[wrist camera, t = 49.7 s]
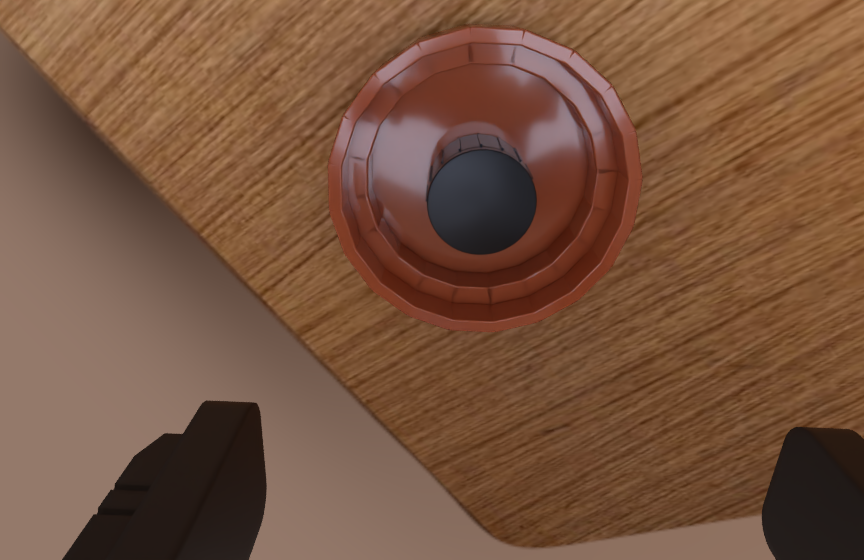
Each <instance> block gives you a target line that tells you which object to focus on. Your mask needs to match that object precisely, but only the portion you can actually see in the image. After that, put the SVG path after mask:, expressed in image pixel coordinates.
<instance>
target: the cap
mask: <svg viewBox="0 0 864 560" xmlns="http://www.w3.org/2000/svg"><path fill="white" fill-rule="evenodd" d="M532 179H533V176H532V174H531V172H530V170H529V168H528V166H527V164H524V162H523V160H522V158H521V156H520V155H519V153H518V151H517V149H516V148H515V147H514V148H513V147H512V146H511V145H510V144H508V143H507V142H505V141H504V140H502V139H500V137H495V136H491V135H485V134H480V133H477V134H473V135H468V136H464V137H461V138H459V137H458V138H457V140H455V141H453V142H451V143H450V144H449V145H447V146H446V147H445V148H444V149H441V152H440V153H439V154H438V156H437V157H436V159H435V161H434V163H433V165H432V166H430V173H429V182H428V185H427V189H426V202H427V211H428V216H429V220H430V222H431V225H432V227H433V229H434V230H435V232H436V233H437V234H438V236H439V237H440V238H441V239H442V240H443V241H444V242H445V243H447V244H448V245H449V246H451V247H453V248H454V249H456V250H459V251H461V252H464V253H468V254H474V255H487V254H493V253H497V252H500V251H502V250H505V249H507V248H508V247H510V246H512V245H513V244H515V243H516V242H517V241H518V240H519V239H521V238H522V237H523V235H524V234H525V233H526V232H527V230H528V229H529V227H530V225H531V223H532V221H533V219H534V216H535V212H536V207H537V195H536V189H535V185H534V182H533V180H532Z"/></svg>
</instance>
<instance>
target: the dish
mask: <svg viewBox="0 0 864 560" xmlns="http://www.w3.org/2000/svg"><path fill="white" fill-rule="evenodd" d="M477 133H480V134H485V135H491V136H495V137H500V139H502V140H504V141H505V142H507V143H508V144H510V145H511V146H512V147H513V148H514V147H515V148H516V149H517V151H518V153H519V155H520V156H521V158H522V160H523V162H524V164H527V166H528V168H529V170H530V172H531V174H532V176H533V179H532V180H533V182H534V185H535V189H536V195H537V207H536V212H535V216H534V219H533V221H532V223H531V225H530V227H529V229H528V230H527V232H526V233H525V234H524V235H523V237H522V238H521V239H519V240H518V241H517V242H516V243H515V244H513V245H512V246H510V247H508V248H507V249H505V250H502V251H500V252H497V253H493V254H487V255H474V254H468V253H464V252H461V251H459V250H456V249H454V248H453V247H451V246H449V245H448V244H447V243H445V242H444V241H443V240H442V239H441V238H440V237H439V236H438V234H437V233H436V232H435V230H434V229H433V227H432V225H431V222H430V220H429V216H428V211H427V202H426V189H427V185H428V182H429V173H430V166H432V165H433V163H434V161H435V159H436V157H437V156H438V154H439V153H440V152H441V149H444V148H445V147H446V146H447V145H449V144H450V143H451V142H453V141H455V140H457V138H458V137H459V138H461V137H464V136H468V135H473V134H477ZM642 178H643V176H642V169H641V162H640V155H639V147H638V140H637V133H636V131H635V127H634V125H633V123H632V121H631V119H630V117H629V115H628V113H627V111H626V110H625V108H624V106H623V104H622V102H621V100H620V98H619V96H618V94H617V92H616V90H615V88H614V87H613V86H612V84H611V83H610V82H609V81H608V80H607V79H606V78H605V77H603V76H602V75H601V74H600V73H599V72H598V71H597V70H596V69H595V68H594V67H593V66H592V65H590V64H589V63H588V62H587V61H586V60H585V59H584V58H583V57H582V56H581V55H580V54H578V53H577V52H576V51H574V50H573V49H571V48H569V47H567V46H564V45H562V44H559V43H557V42H555V41H552V40H550V39H547V38H545V37H543V36H540V35H538V34H535V33H533V32H531V31H528V30H526V29H523V28H519V27H516V26H507V25H487V24H464V25H460V26H457V27H453V28H450V29H447V30H443V31H440V32H436V33H433V34H430V35H426V36H423V37H421V38H419V39H417V40H416V41H414V42H413V43H411V44H410V45H409V46H407V47H406V48H404V49H403V50H402V51H400V52H399V53H397V54H396V55H395V56H393V57H392V58H390V59H389V60H388V61H386V62H385V63H383V64H382V65H381V66H380V67H379V68H378V69H377V70H376V71H375V72H374V73H373V74H372V75H371V77H370V78H369V79H368V81H367V82H366V84H365V85H364V86H363V88H362V89H361V90H360V92H359V93H358V95H357V96H356V97H355V99H354V100H353V102H352V103H351V104H350V106H349V107H348V108H347V110H346V111H345V113H344V115H343V116H342V119H341V122H340V125H339V128H338V132H337V135H336V138H335V141H334V144H333V148H332V151H331V154H330V157H329V161H328V195H329V210H330V211H329V213H330V215H331V218H332V221H333V224H334V227H335V229H336V232H337V235H338V238H339V241H340V244H341V246H342V249H343V252H344V254H345V256H346V257H347V258H348V260H349V261H350V262H351V264H352V265H353V266H354V268H355V269H356V270H357V271H358V273H359V274H360V275H361V277H362V278H363V279H364V281H365V282H366V283H367V285H368V286H369V287H370V288H371V289H372V290H373V291H374V292H375V293H377V294H378V295H379V296H381V297H382V298H384V299H385V300H386V301H388V302H389V303H391V304H392V305H393V306H395V307H396V308H398V309H399V310H400V311H402V312H403V313H405V314H406V315H408V316H410V317H413V318H415V319H418V320H421V321H424V322H427V323H430V324H433V325H436V326H439V327H442V328H445V329H448V330H457V331H477V332H498V331H502V330H507V329H511V328H516V327H520V326H524V325H529V324H533V323H537V322H540V321H542V320H543V319H545V318H547V317H549V316H551V315H553V314H554V313H556V312H558V311H560V310H562V309H564V308H565V307H567V306H569V305H571V304H573V303H575V302H576V301H578V300H579V299H580V298H581V297H582V296H583V295H584V294H585V293H586V292H587V291H588V290H589V289H590V288H591V287H592V286H593V285H594V284H595V283H596V282H597V281H598V280H599V279H601V278H602V277H603V276H604V275H605V274H606V273H607V272H608V271H609V270H610V268H611V267H612V266H613V264H614V262H615V260H616V258H617V256H618V255H619V253H620V251H621V249H622V247H623V245H624V243H625V242H626V240H627V238H628V236H629V234H630V232H631V231H632V229H633V226H634V223H635V217H636V212H637V207H638V202H639V196H640V191H641V186H642V181H643V180H642Z"/></svg>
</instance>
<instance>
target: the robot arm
mask: <svg viewBox="0 0 864 560" xmlns="http://www.w3.org/2000/svg"><path fill="white" fill-rule="evenodd" d="M265 501H266V472H265V461H264V450H263V439H262V427H261V416H260V410H259V407H258V405H257V403H252V402H228V401H205V402H204V403H202V405H201V406H200V407H199V409H198V410H197V412H196V414H195V415H194V417H193V419H192V420H191V422H190V424H189V425H188V427H187V428H186V430H185V432H184V433H183V434H168V433H166V434H163V435H162V436H161V437H159V438H158V439H157V440H155V441H154V442H153V443H151V444H150V445H149V446H147V447H146V448H145V449H143V450H142V451H141V452H139V453H138V454H137V455H135V456H134V457H133V459H132V460H131V462H130V463H129V465H128V466H127V467H126V469H125V470H124V472H123V473H122V475H121V476H120V477H119V479H118V480H117V482H116V483H115V488H114V490H110V492H109V493H108V495H107V496H106V497H105V499H104V500H103V502H102V503H101V505H100V506H99V507H98V513H97V515H96V514H95V515H93V516H92V518H91V519H90V520H89V522H88V523H87V525H86V526H85V528H84V529H83V530H82V532H81V533H80V535H79V536H78V538H77V539H76V541H75V542H74V544H73V545H72V547H71V548H70V549H69V551H68V552H67V553H66V555H65V556H64V558H63V559H62V560H249V557H250V554H251V552H252V549H253V546H254V543H255V540H256V538H257V535H258V532H259V529H260V526H261V523H262V519H263V515H264V508H265ZM762 525H763V531H764V536H765V538H766V542H767V544H768V546H769V549H770V550H771V552H772V554H773V555H774V557H775V559H776V560H864V439H863V438H862V437H861V436H860V435H859V434H858V433H856V432H854V431H853V430H850V429H834V428H810V427H795V428H793V429H791V430H790V431H789V432H788V434H787V435H786V437H785V440H784V443H783V446H782V449H781V452H780V455H779V458H778V461H777V464H776V467H775V470H774V473H773V476H772V479H771V482H770V485H769V488H768V492H767V495H766V498H765V501H764V504H763V509H762Z"/></svg>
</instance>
